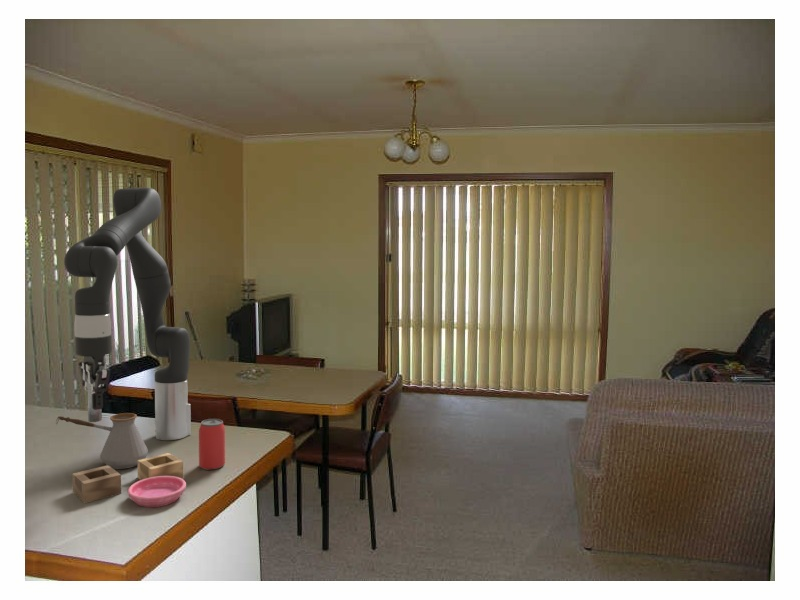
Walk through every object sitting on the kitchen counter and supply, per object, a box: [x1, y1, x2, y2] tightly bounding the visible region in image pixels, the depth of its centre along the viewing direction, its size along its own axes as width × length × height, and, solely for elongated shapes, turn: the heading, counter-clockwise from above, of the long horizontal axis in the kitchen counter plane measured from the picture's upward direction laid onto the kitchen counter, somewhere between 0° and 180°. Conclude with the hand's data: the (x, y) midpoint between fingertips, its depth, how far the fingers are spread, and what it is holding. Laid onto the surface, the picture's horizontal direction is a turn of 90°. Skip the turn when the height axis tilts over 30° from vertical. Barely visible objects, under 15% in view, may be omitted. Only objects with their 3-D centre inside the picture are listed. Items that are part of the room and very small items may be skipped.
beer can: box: [198, 418, 226, 471], centre depth 159 cm, size 7×7×12 cm
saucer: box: [127, 476, 187, 508], centre depth 139 cm, size 12×12×3 cm
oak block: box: [137, 452, 184, 481], centre depth 150 cm, size 8×8×4 cm
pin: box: [86, 378, 103, 423], centre depth 139 cm, size 3×3×10 cm
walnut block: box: [71, 465, 122, 504], centre depth 141 cm, size 8×8×4 cm
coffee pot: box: [55, 412, 149, 470], centre depth 156 cm, size 21×12×15 cm, turn 123°
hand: (95, 407), depth 139 cm, fingers closed on pin, 2 cm apart
